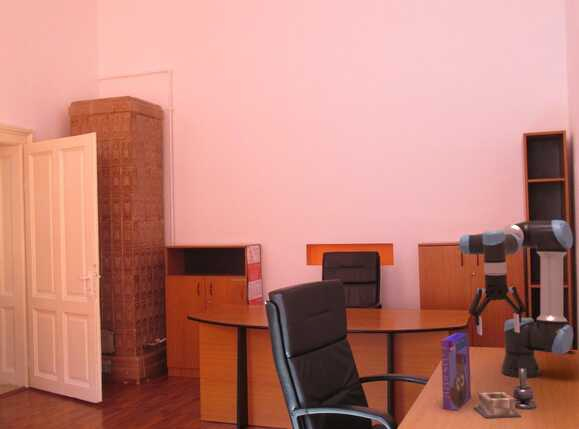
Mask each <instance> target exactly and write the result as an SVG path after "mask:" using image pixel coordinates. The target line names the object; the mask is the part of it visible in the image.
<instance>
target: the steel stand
mask: <svg viewBox="0 0 579 429" xmlns="http://www.w3.org/2000/svg"><path fill="white" fill-rule="evenodd" d="M518 380H519V381H518V382H519V384H518V386H513V389H512V390H513V391H512V392H513V393H512V395H513V397H512V398H514V399H515V409H519V410H534V409H536V408H537V402H536V401H534V398H535V397H534V388H532V387H530V386H527V385H528V384H527V377H526V368H519V377H518Z"/></svg>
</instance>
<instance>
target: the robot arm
mask: <svg viewBox="0 0 579 429" xmlns="http://www.w3.org/2000/svg"><path fill="white" fill-rule="evenodd" d="M573 236H574V235H573V232H572V228H571V227H570V225H569V223H568V222H567V221H565V220H561V219H550V220H549V219H547V220H527V221H522V222H521V221H520V222H517V223H514V224H509V225H507V226H505V227H504V228H502V229H497V230H488V231H487V230H486V231H484V232H481V233H478V234H477V233H476V234H466V235H465V234H464V235H462V236H460V238H459V240H458V241H459V242H458V244H459V245H458V247H459V248H458V249H459V251H460V252H461V253H462V254H464V255H483V267H484V268H483V269H484V286H485V287H484V288H479V287H476V289H475V290H476V292H475V296H474V299H473V301H472V304H471V306H470V308H469V310H468V315H471V316H473V318H474V325H475V326H476V328H477V329H476V331H477V332H476V333H477V335H479V336H482V335H483V323H482V322H483V321H482V316H481V314H482V313H483V312H484V310H485V309H486V307H487V306H488V304H490V302H492V301H502V300H504V302H506V303H507V305H508V306H509V307H510V308H511V309H512V310H513V311H514V313H513V318H510V319H507V320H505V322H504V327H503V328H504V330H503V332H504V351H505V352H504V354H505V355H504V357H503V362H502V363H501V364H502V365H501V374H503V375H505V376H509V377H515V378H519V368H526V378H534V377H535V378H536V377H538V376H539V375H540V372H541V371H540V367H539V364H538V362H537V359H536V355H535V351H536V352H541V353H542V352H543V353H550V354H554V355H555V354H559V355H563V354H566V353H568V352H569V351H570V349H571V347H572V344H573V340H574V331H573V330H574V329H573V327H572V326H571V325H569V324H568V320H567V318H566V317H565V316H564V257H565V256H566V255H568V249H569V250H570V249H571V248H572V246H573V243H574V237H573ZM522 248H524V249H525V248H526V249H536V254H538V256H539V257H540V315H539V316H537V318H536V321H534V318H533V317H522V315H523V314H524V313H526V312H527V308H526V307H525V305H524V303H523V301H522V299H521V297H520V296H519V294H518V290H517V287H516V286H513V285H510V286H508V275H507V274H506V273H507V260H506V259H507V258H506V257H507V256H513V255H515V254H517V253H518V252H520V251H521V249H522ZM508 293H510V294H511V296H512V297H513V299H514V302H515V303H516V304H515V303H514V302H513V300H512V299H511V298H510V297H509V296H508ZM484 294H485V297H484V298H483V300H482V301H481V299H482V296H483V295H484ZM480 301H481V302H480Z"/></svg>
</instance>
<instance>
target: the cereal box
mask: <svg viewBox="0 0 579 429" xmlns="http://www.w3.org/2000/svg"><path fill="white" fill-rule="evenodd" d="M440 343H441V344H440V345H441V346H440V348H441V349H440V350H441V353H440V354H441V375H442V376H441V377H442V378H441V379H442V380H441V381H442V404H443V405H442V406H443V407H442V409H443V410H447V411H453V412H454V411H455V412H458V411H459V410H460V409H461V408H462V407H463V406H465V405H466V403H468V402H469V401H470V400H471V398H472V393H471V392H472V390H471V388H472V387H471V386H472V385H471V365H470V364H471V362H470V360H471V357H470V333H467V332H463V331H462V332H454V333H452V334H451V335H449V336H446V338H444V339H441V340H440Z"/></svg>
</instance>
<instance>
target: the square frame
mask: <svg viewBox="0 0 579 429" xmlns="http://www.w3.org/2000/svg"><path fill="white" fill-rule="evenodd" d="M515 400H516V398H514V397H512V396H511V395H509V394H507V392H505V391H497V392H496V391H495V392H494V391H493V392H491V391H490V392H478V407H479V408H480V409H481V410H483V411H484V412H485V413H486V414H487V415H489V416H491V415H514V414H515V411H516V408H515Z"/></svg>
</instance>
